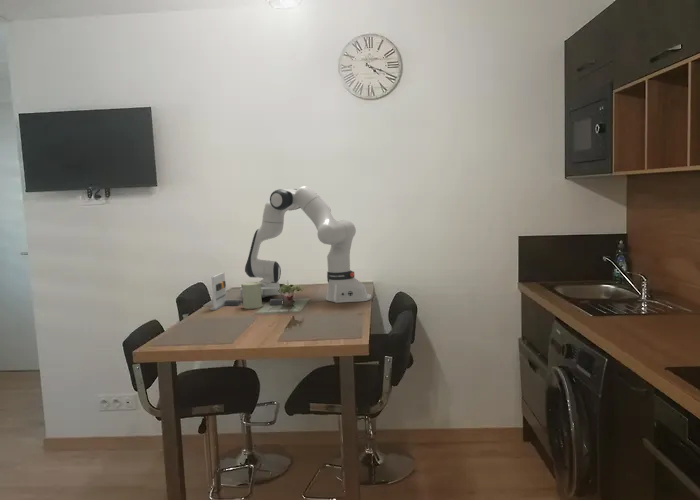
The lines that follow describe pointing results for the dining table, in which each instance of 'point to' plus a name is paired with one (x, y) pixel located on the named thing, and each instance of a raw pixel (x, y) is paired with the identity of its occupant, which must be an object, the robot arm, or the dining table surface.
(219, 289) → the panel
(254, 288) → the can
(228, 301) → the cover
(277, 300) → the cover
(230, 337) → the dining table surface
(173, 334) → the dining table surface
